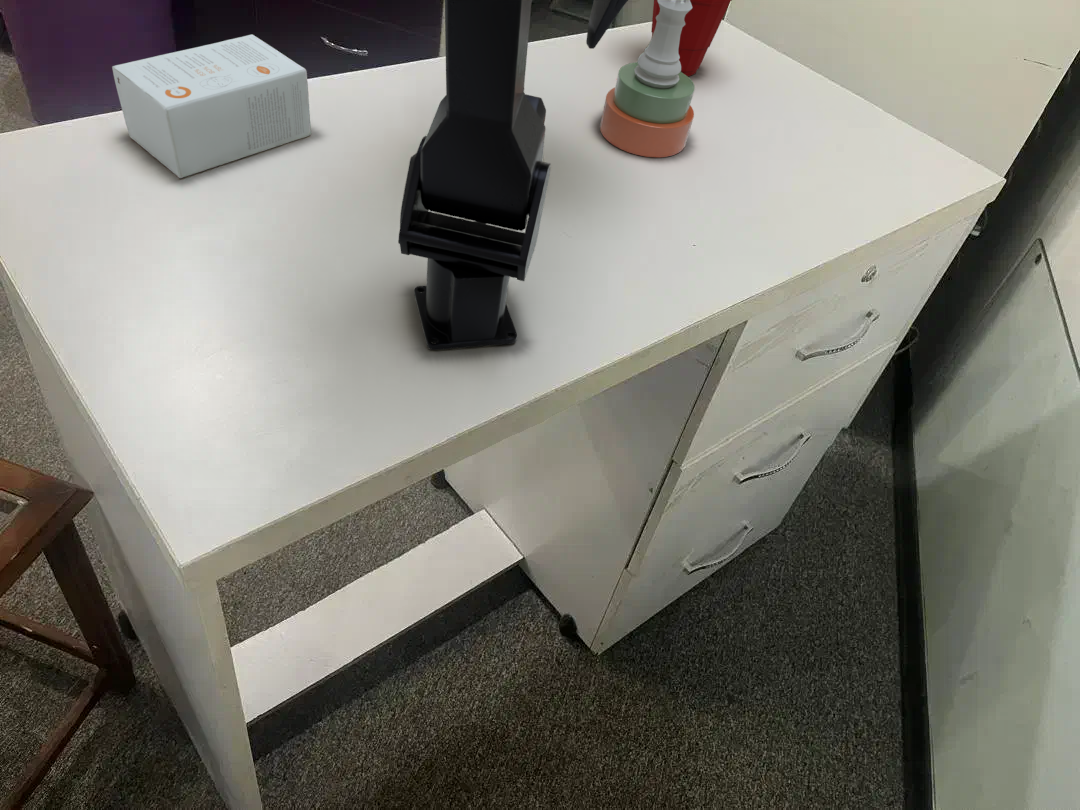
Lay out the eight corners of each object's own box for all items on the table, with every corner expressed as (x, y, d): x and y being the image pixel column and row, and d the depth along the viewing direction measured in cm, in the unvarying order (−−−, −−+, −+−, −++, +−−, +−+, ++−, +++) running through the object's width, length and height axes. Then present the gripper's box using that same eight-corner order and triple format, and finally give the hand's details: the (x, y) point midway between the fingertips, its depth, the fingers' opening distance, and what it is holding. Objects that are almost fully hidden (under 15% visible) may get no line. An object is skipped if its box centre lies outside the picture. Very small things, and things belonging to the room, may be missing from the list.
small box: (260, 100, 74) (127, 137, 67) (253, 32, 70) (108, 63, 62) (313, 137, 71) (179, 180, 64) (308, 69, 66) (164, 107, 59)
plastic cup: (715, 54, 97) (747, -52, 88) (720, 93, 89) (756, -19, 81) (629, 38, 96) (653, -70, 88) (628, 76, 89) (653, -38, 80)
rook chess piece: (676, 94, 74) (700, 6, 68) (630, 83, 74) (651, -5, 69) (679, 74, 77) (703, -11, 72) (636, 64, 78) (655, -22, 72)
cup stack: (699, 157, 79) (716, 102, 74) (616, 158, 76) (629, 101, 72) (666, 112, 84) (681, 59, 80) (588, 112, 82) (599, 57, 77)
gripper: (657, -208, 59) (613, 10, 70) (407, -242, 53) (403, -2, 65) (715, -170, 51) (656, 65, 63) (434, -206, 46) (424, 57, 57)
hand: (535, 44), depth 62 cm, fingers open, 9 cm apart
